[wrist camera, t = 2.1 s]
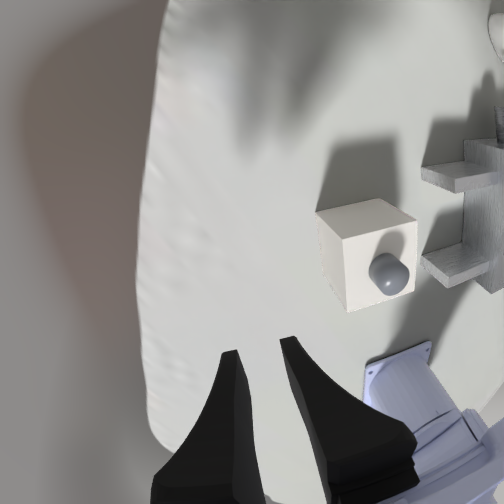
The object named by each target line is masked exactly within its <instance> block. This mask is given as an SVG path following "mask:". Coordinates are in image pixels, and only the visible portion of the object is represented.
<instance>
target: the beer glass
mask: <svg viewBox="0 0 504 504" xmlns="http://www.w3.org/2000/svg"><path fill="white" fill-rule="evenodd" d="M488 29H489V35H490V38H491V41H492V44H493V47H494V49H495V51H496V53H497V54H498V56H499V58H500V59H501V60H502V62H503V63H504V13H493V14H492V15H491V16H490V17H489V21H488Z"/></svg>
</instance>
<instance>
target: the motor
mask: <svg viewBox="0 0 504 504" xmlns="http://www.w3.org/2000/svg"><path fill="white" fill-rule="evenodd" d="M494 109H495V120H496V134H497V138H488V139H472V140H463V145H464V161H458V162H451V163H445V164H438V165H431V166H425V167H421V174H422V180H423V181H426V182H428V183H431V184H433V185H436V186H438V187H441V188H443V189H445V190H448V191H450V192H452V193H460V192H464V219H463V233H462V242H460V243H457V244H454V245H451V246H448V247H445V248H442V249H439V250H436V251H433V252H430V253H427V254H424V255H421V266H422V267H423V268H424V269H425V270H427V271H428V272H429V273H430V274H431V275H432V276H434V277H435V278H436V279H437V280H438V281H439V282H440V283H442V284H443V285H444V286H445V287H446V288H447V289H448V288H450V287H453V286H455V285H458V284H460V283H462V282H465V281H467V280H469V279H473V280H475V281H476V282H477V283H478V284H480V285H481V286H482V287H483V288H484V289H486V290H487V291H488V292H489V293H490V294H493V293H494V292H496V291H498V290H500V289H502V288H504V107H494Z"/></svg>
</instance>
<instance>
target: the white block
mask: <svg viewBox="0 0 504 504" xmlns="http://www.w3.org/2000/svg"><path fill="white" fill-rule="evenodd" d="M315 216H316V223H317V230H318V237H319V245H320V253H321V261H322V270H323V276H324V277H325V279H326V280H327V282H328V284H329V285H330V287H331V288H332V290H333V291H334V293H335V295H336V296H337V298H338V299H339V301H340V303H341V304H342V306H343V307H344V309H345V311H346V312H347V313H349V312H352V311H355V310H359V309H362V308H365V307H368V306H371V305H374V304H377V303H381V302H384V301H387V300H390V299H393V298H395V297H398V296H401V295H404V294H407V293H410V292H413V291H414V288H415V276H416V259H417V226H418V220H416V219H414V218H413V217H411V216H409V215H408V214H406V213H404V212H403V211H401V210H399V209H398V208H396V207H394V206H392V205H391V204H389V203H387V202H385V201H384V200H382V199H380V198H377V199H372V200H367V201H363V202H358V203H354V204H349V205H344V206H340V207H335V208H331V209H327V210H322V211H318V212H315Z"/></svg>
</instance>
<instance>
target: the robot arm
mask: <svg viewBox="0 0 504 504" xmlns="http://www.w3.org/2000/svg"><path fill="white" fill-rule="evenodd" d="M280 344H281V348H282V353H283V357H284V362H285V367H286V371H287V375H288V379H289V382H290V386H291V390H292V393H293V395H294V398H295V400H296V403H297V405H298V408H299V411H300V413H301V416H302V418H303V421H304V423H305V426H306V428H307V431H308V434H309V437H310V441H311V445H312V448H313V452H314V456H315V459H316V463H317V467H318V471H319V474H320V478H321V482H322V486H323V490H324V493H325V497H326V501H327V504H497V502H496V500H495V499H494V497H493V493H494V491H495V489H496V488H497V485H498V484H499V483H500V482H502V481H503V480H504V418H503V419H501V420H500V421H498V422H497V423H496V424H494V425H493V426H492V427H490V428H488V427H487V425H486V424H485V422H484V421H483V420H482V418H481V417H480V416H479V414H478V413H477V412H476V411H475V410H474V409H468V408H467V409H465V410H464V411H463V412H461V411H460V410H459V409H458V408H457V406H456V405H455V403H454V402H453V400H452V399H451V397H450V396H449V394H448V393H447V392H446V390H445V389H444V387H443V386H442V384H441V383H440V381H439V380H438V379H437V377H436V376H435V374H434V373H433V372H432V370H431V369H430V367H429V366H428V365H427V362H428V358H429V354H430V350H431V346H432V343H431V342H430V341H427V342H425V343H422V344H420V345H418V346H415V347H413V348H410V349H408V350H405V351H403V352H400V353H398V354H395V355H393V356H390V357H388V358H385V359H382V360H380V361H377V362H374V363H371V364H369V365H367V366H366V368H365V380H364V393H363V402H362V401H360V400H359V399H357V398H356V397H354V396H353V395H351V394H350V393H348V392H347V391H346V390H344V389H343V388H342V387H341V386H339V385H338V384H337V383H336V382H335V381H333V380H332V379H331V378H330V377H329V376H328V375H327V374H326V373H325V372H324V371H323V370H322V369H321V368H320V367H319V366H318V365H317V364H316V363H315V362H314V361H313V360H312V358H311V357H310V356H309V355H308V354H307V352H306V351H305V350H304V348H303V347H302V346H301V344H300V343H299V341H298V339H297V338H296V337H295V336H291V337H287V338H283V339H280ZM150 504H266V501H265V497H264V492H263V488H262V483H261V478H260V473H259V468H258V463H257V458H256V452H255V445H254V434H253V419H252V404H251V395H250V390H249V384H248V379H247V376H246V374H245V371H244V368H243V365H242V362H241V360H240V357H239V354H238V351H237V350H232V351H227V352H223V353H222V355H221V359H220V363H219V367H218V371H217V374H216V377H215V380H214V383H213V386H212V389H211V392H210V394H209V396H208V399H207V401H206V403H205V406H204V408H203V410H202V412H201V414H200V416H199V418H198V420H197V422H196V423H195V425H194V427H193V428H192V430H191V432H190V433H189V435H188V436H187V438H186V439H185V441H184V442H183V444H182V445H181V446H180V447H179V449H178V450H177V451H176V453H175V454H174V455H173V456H172V458H171V459H170V460H169V461H168V462H167V463H166V464H165V465H164V466H163V467H162V469H160V470H159V471H158V472H157V473H156V474H155V475H154V478H153V483H152V487H151V499H150Z"/></svg>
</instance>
